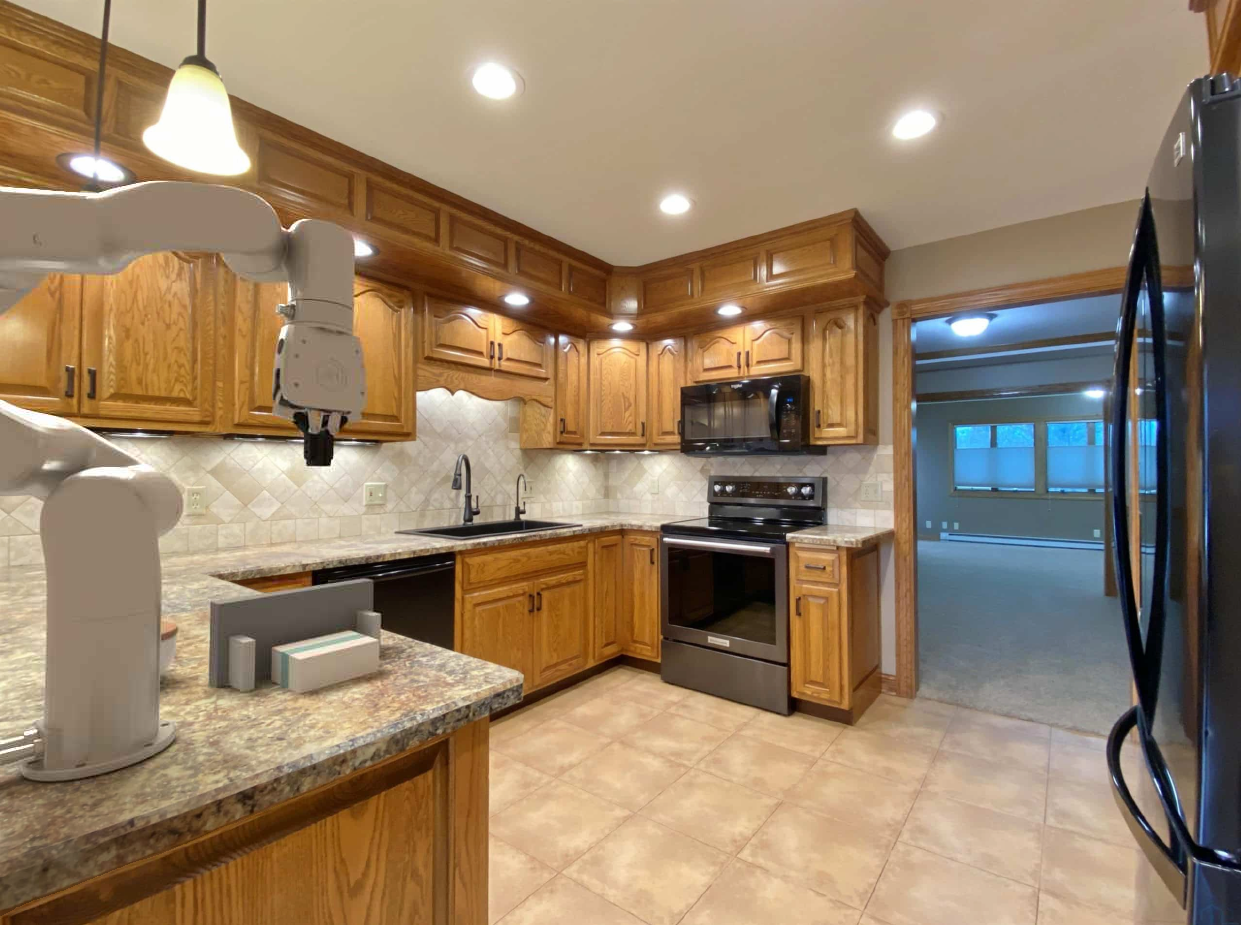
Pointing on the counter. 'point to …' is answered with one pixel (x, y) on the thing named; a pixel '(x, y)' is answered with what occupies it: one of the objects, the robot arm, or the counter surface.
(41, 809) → the counter surface
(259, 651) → the display stand
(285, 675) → the carton
